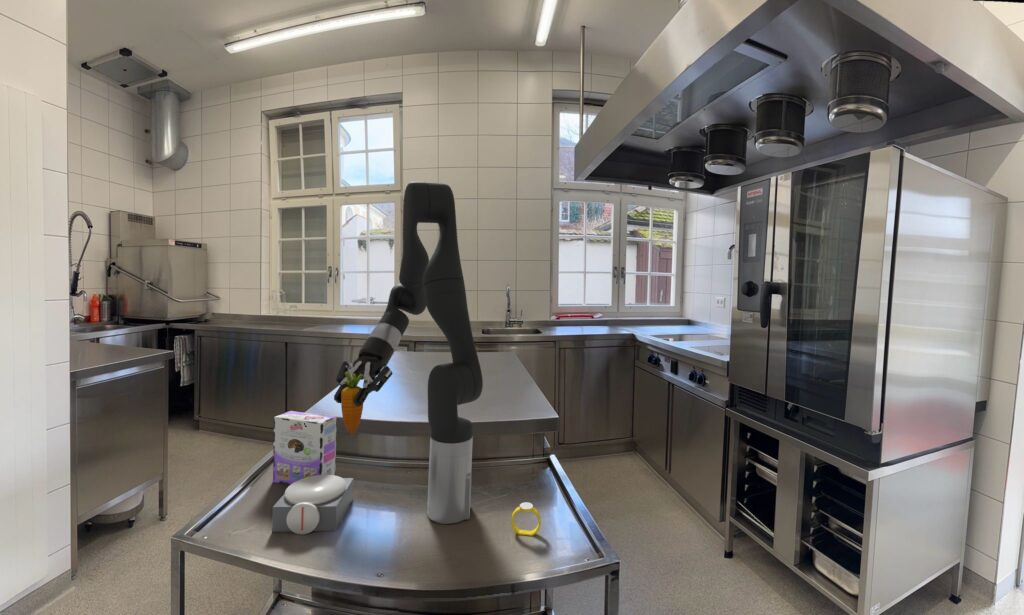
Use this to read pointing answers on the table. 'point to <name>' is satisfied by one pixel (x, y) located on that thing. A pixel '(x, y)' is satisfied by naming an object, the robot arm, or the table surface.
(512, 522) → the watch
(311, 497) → the scale pan
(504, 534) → the table surface
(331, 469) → the candy box
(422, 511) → the table surface
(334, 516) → the scale base
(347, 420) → the carrot
